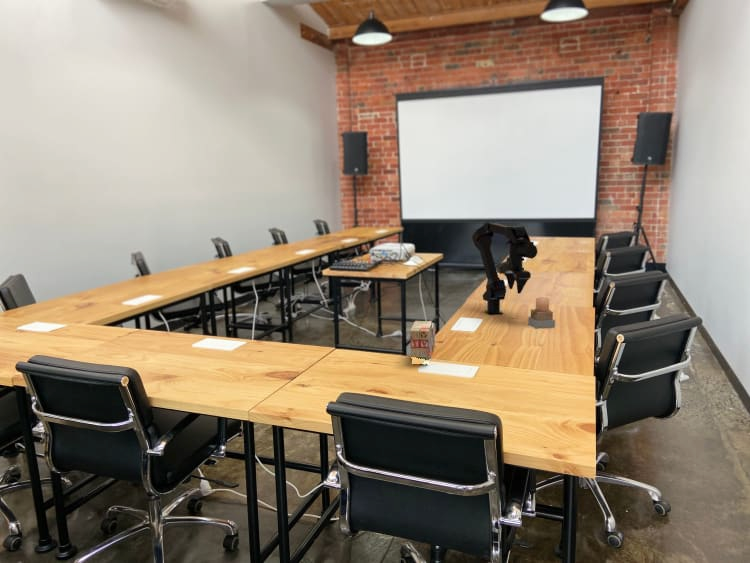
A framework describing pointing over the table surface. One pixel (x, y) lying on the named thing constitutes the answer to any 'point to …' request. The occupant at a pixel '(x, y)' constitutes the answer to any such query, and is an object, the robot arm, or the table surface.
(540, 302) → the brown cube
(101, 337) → the table surface
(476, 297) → the table surface
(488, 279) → the robot arm
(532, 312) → the tower top
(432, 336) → the cardboard box
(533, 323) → the tower base
